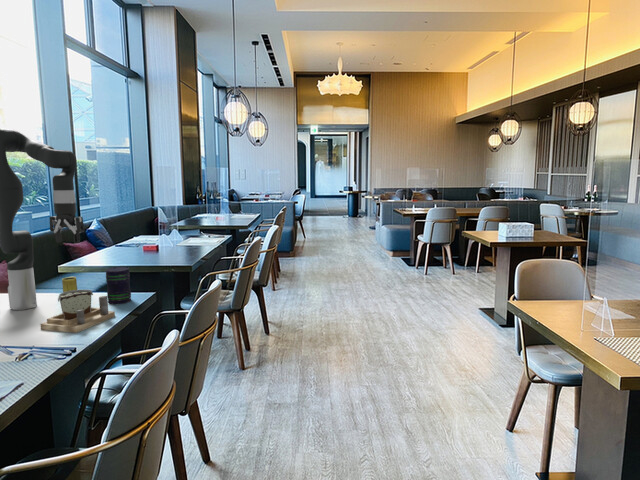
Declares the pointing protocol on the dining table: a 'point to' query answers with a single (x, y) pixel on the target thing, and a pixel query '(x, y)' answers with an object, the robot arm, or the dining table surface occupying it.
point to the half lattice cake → (75, 302)
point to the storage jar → (118, 285)
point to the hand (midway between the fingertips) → (68, 242)
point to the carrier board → (78, 327)
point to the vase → (69, 284)
